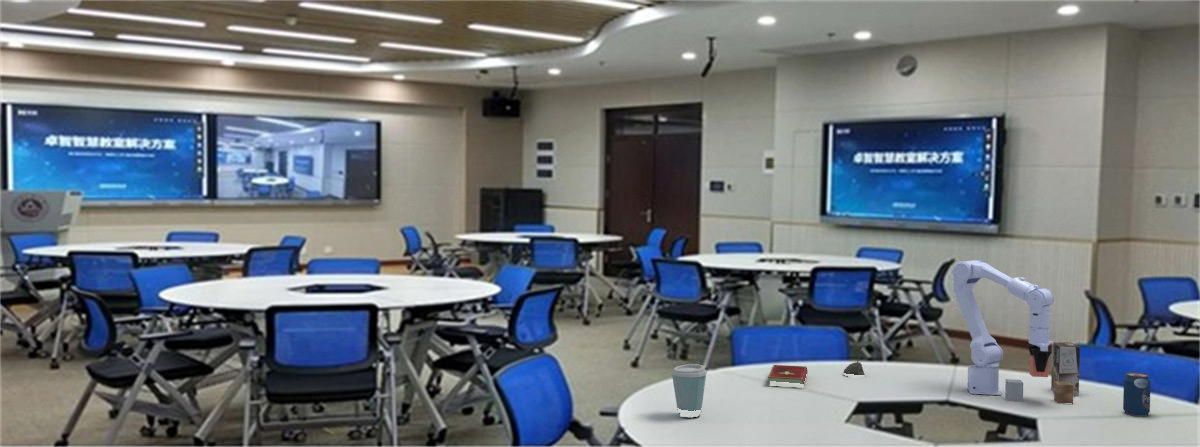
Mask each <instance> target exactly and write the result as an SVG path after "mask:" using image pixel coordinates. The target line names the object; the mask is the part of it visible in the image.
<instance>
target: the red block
mask: <svg viewBox="0 0 1200 447" xmlns="http://www.w3.org/2000/svg"><path fill="white" fill-rule="evenodd" d="M1028 374H1029V375H1030V376H1031V377H1033V378H1034V377H1035V378H1048V377H1049V360H1048V361H1047V364H1046V368H1045V371H1044V372H1037V370H1036V365H1035V358H1034V355H1030V354H1029V373H1028Z"/></svg>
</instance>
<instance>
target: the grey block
mask: <svg viewBox="0 0 1200 447" xmlns="http://www.w3.org/2000/svg"><path fill="white" fill-rule="evenodd" d="M1004 385H1005V386H1004V388H1005V390H1004V394H1005V395H1004V396H1005V397H1004V398H1005V399H1006V401H1007V402H1024V381H1023V380H1021V379H1009V378H1008V379H1007V378H1005V384H1004Z"/></svg>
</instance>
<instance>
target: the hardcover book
mask: <svg viewBox="0 0 1200 447" xmlns="http://www.w3.org/2000/svg"><path fill="white" fill-rule="evenodd" d="M806 374H807V375H808V367H807V366H806V365H805V366H802V365H787V364H784V365H783V364H773V366H772V367H771V369H770V372H769V374H768V376H767V378H768V379H769V380H768V382H769V381H776V382H789V383H800V384H804V381H805V378H806V379H807V377H806ZM805 382H806V381H805ZM804 385H805V384H804Z"/></svg>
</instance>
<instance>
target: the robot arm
mask: <svg viewBox="0 0 1200 447" xmlns="http://www.w3.org/2000/svg"><path fill="white" fill-rule="evenodd" d="M951 273H952V277H953V287H952V288H953V292H954V294H955V297H956V300H957V303H958V305H959V308H960V311H961V314H962V315H963V318H964V322H965V324H966V326H967V329H968V332H969V335H970V337H971V342H970V343H969V348H970V351H971V352H970V359H971V361H972V362H973V363H974V364H971V365H968V367H967V384H966V386H967V387H966V388H967V390H968V392H969V394H972V395H990V396H1002V393H1001V391H1000V390H999V389H1000V388H999V382H1000V381H999V378H1000V377H999V376H1000V374H999V373H1000V362H1001V361H1002V360H1003V359H1004V351H1003V349H1002V347H1001V346H999V344H998V343H997V340H996V339H995V338H994V337H993V336H991V335H990V333H989V331H988V328H987V326H986V323H985V321H984V318H983V316H982V313H981V310H980V308H979V305H978V303H977V300H976V296H975V295H974V292H973V289H974V287H975V286H976V284H977V282H979V281H980V280H981V279H982V278H985V279H988V280H990V281H993V282H994V283H996V284H999V285H1000V286H1002V287H1005V288H1006V289H1007V291H1008V293H1009V294H1010V295H1013V296H1015V297H1017V298H1019V299H1020V300H1022V301H1025V302H1026V303H1027V305H1028V306H1029V332H1028V333H1029V339H1028V343H1029V344H1030V345H1026V347H1027V348H1026V349H1028V352H1029V356H1030V355H1034V358H1035V365H1036V370H1037V372H1044V371H1045V368H1046V364H1047V361H1048V362H1049V358H1050V356H1052V349H1051V350H1050V349H1049V346H1050V345H1052V344H1054V342H1055V341H1053V340H1050V336H1051V335H1050V332H1051V305H1052V304H1053V302H1054V300H1055V296H1054V293H1053V292H1052V291H1051V290H1049V289H1048V288H1046V287H1042V288H1041V287H1039V285H1038V284H1034V283H1031V282H1029V281H1027V280H1026V278H1025V277H1022V276H1021V277H1018V276H1017V277H1013V278H1012V277H1011V276H1009V275H1007V274H1005V273H1003V271H1000V270H998V269H996V268H995V267H993V266H992V265H990V264H989V263H987V262H983V261H981V260H979V259H973V260H966V261H963V260H962V261H961V260H960V261H957V263H955V265H954V267H953V269H952V270H951Z"/></svg>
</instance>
